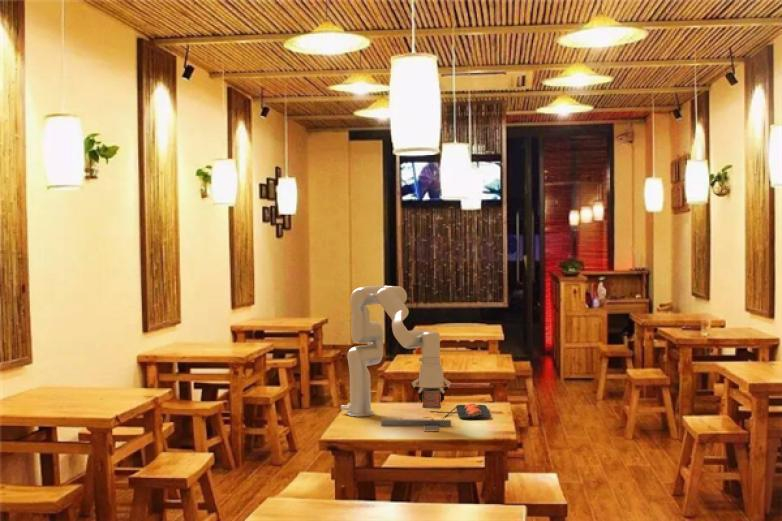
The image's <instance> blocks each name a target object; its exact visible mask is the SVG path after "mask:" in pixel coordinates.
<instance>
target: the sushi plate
mask: <svg viewBox="0 0 782 521" xmlns="http://www.w3.org/2000/svg"><path fill="white" fill-rule="evenodd" d="M454 410H456V412H455V411H454ZM429 411H430V412H429V413H434V412H437V413H440V414H441V413H442V414H445V415H444V416H443V417H442V418H444V417H445V418H447V417H448V416H449V415H450V414H457V416H458V417H459V418H461V419H466V420H467V419H468V420H481V419H484V420H485V419H490V418H491V416H492V415H491V413H490V411H489V408H488V407H487V405H485V404H476V403H467V404H457V405H456V406H455V407H454V408H453V409H451V410H450V411H436V410H435V411H434V410H429ZM453 411H454V412H453ZM446 416H447V417H446ZM445 418H444V419H445Z"/></svg>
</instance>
